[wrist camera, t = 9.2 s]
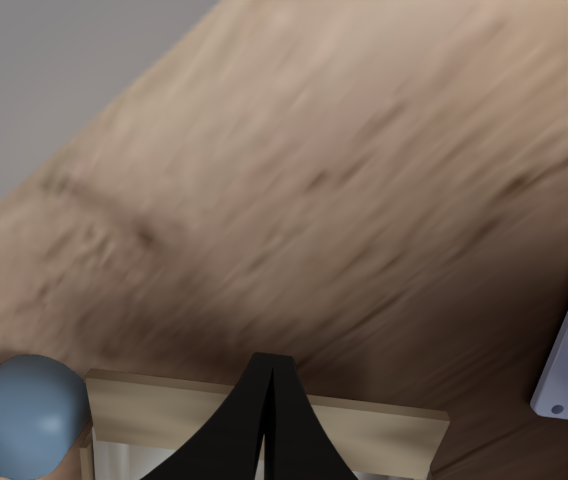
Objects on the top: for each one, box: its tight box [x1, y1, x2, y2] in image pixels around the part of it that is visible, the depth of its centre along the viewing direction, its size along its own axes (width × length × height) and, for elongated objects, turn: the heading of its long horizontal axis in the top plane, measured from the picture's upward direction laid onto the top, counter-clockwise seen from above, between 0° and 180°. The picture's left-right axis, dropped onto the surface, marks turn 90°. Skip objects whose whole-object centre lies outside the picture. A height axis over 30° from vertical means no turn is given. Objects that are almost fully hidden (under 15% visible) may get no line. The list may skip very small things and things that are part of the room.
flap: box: [85, 369, 451, 480], centre depth 13 cm, size 13×1×3 cm
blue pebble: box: [0, 355, 91, 480], centre depth 17 cm, size 5×5×2 cm
